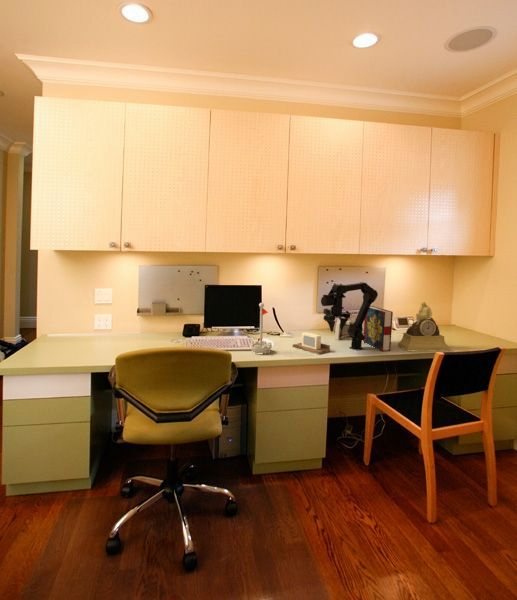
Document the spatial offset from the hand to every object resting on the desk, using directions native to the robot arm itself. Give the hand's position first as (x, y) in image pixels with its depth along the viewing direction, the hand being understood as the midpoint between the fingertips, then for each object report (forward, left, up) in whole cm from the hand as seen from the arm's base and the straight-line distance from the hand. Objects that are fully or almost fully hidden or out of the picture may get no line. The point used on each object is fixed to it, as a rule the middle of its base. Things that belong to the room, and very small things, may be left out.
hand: (336, 330), depth 240 cm
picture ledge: (+10, -12, -13) cm, 20 cm away
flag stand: (+39, -26, -13) cm, 48 cm away
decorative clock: (-51, +30, -13) cm, 61 cm away
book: (-30, +8, -13) cm, 34 cm away
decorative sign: (-35, -21, -13) cm, 43 cm away
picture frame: (+10, -12, -11) cm, 19 cm away
